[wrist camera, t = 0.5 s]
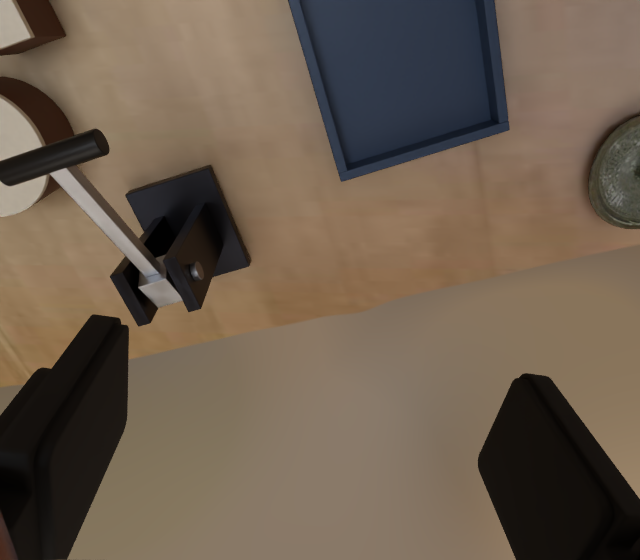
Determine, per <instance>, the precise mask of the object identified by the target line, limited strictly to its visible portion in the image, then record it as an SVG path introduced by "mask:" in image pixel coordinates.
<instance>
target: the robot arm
mask: <svg viewBox="0 0 640 560" xmlns="http://www.w3.org/2000/svg"><path fill="white" fill-rule="evenodd" d="M128 345H129V328H128V326H127V325H121V321H120V319H119V318H116V317H109V316H101V315H92V316H91V317H90V318H89V319H88V320H87V322H86V323H85V325H84V326H83V327H82V329H81V330H80V331H79V333H78V334H77V335H76V337H75V338H74V339H73V341H72V342H71V343H70V345H69V346H68V347H67V349H66V350H65V351H64V353H63V354H62V355H61V357H60V358H59V359H58V361H57V362H56V363H55V365H54V366H53V367H52V369H49V368H40V369H38V370H37V371H36V372H35V373H34V374H33V375H32V376H31V377H30V379H29V380H28V381H27V382H26V384H25V385H24V386H23V388H22V389H21V390H20V391H19V393H18V394H17V395H16V396H15V398H14V399H13V400H12V402H11V403H10V404H9V406H8V407H7V408H6V409H5V410H4V412H3V413H2V414H1V415H0V560H67V558H68V556H69V553H70V551H71V549H72V547H73V544H74V542H75V540H76V538H77V535H78V533H79V531H80V529H81V526H82V524H83V522H84V519H85V517H86V515H87V513H88V511H89V508H90V506H91V504H92V502H93V499H94V497H95V494H96V493H97V490H98V488H99V486H100V484H101V481H102V479H103V477H104V474H105V472H106V470H107V468H108V465H109V463H110V461H111V459H112V457H113V454H114V452H115V450H116V447H117V445H118V443H119V441H120V439H121V436H122V434H123V432H124V429H125V425H126V421H127V400H128V399H127V398H128ZM478 468H479V472H480V474H481V476H482V479H483V481H484V484H485V486H486V489H487V491H488V493H489V496H490V498H491V501H492V503H493V505H494V508H495V510H496V512H497V515H498V517H499V520H500V522H501V525H502V527H503V529H504V532H505V534H506V536H507V539H508V541H509V544H510V546H511V549H512V551H513V553H514V556H515V558H516V560H640V499H639V498H638V496H637V495H636V494H635V492H634V491H633V490H632V488H631V487H630V485H629V484H628V483H627V481H626V480H625V479H624V477H623V476H622V475H621V473H620V472H619V470H618V469H617V468H616V466H615V465H614V464H613V462H612V461H611V460H610V458H609V457H608V456H607V454H606V453H605V451H604V450H603V449H602V448H601V446H600V445H599V443H598V442H597V441H596V439H595V438H594V437H593V435H592V434H591V433H590V431H589V430H588V429H587V427H586V426H585V424H584V423H583V422H582V420H581V419H580V418H579V416H578V415H577V414H576V413H575V411H574V410H573V408H572V407H571V406H570V405H569V403H568V402H567V400H566V399H565V397H564V396H563V395H562V393H561V392H560V391H559V389H558V388H557V387H556V385H555V384H554V383H553V381H552V380H551V379H550V378H549V377H547V376H542V375H535V374H527V373H526V374H522V375H521V376H520V377H519V378H516V379H515V380H514V381H513V382H512V384H511V386H510V388H509V391H508V393H507V395H506V397H505V399H504V401H503V404H502V406H501V408H500V410H499V412H498V415H497V417H496V419H495V421H494V424H493V426H492V428H491V430H490V432H489V434H488V437H487V439H486V441H485V443H484V445H483V448H482V450H481V452H480V454H479V457H478Z"/></svg>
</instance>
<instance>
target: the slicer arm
mask: <svg viewBox="0 0 640 560" xmlns="http://www.w3.org/2000/svg"><path fill="white" fill-rule="evenodd" d="M108 153H109V145H108V142H107V140H106V138H105V136H104V135H103V133H102V132H101V131H100V130H98V129H92V130H89V131H87V132H84V133H81V134H78V135H75V136H72V137H69V138H66V139H63V140H60V141H57V142H54V143H51V144H48V145H45V146H42V147H39V148H36V149H33V150H31V151H28V152H25V153H22V154H19V155H16V156H13V157H10V158H7V159H4V160H1V161H0V181H1V182H2V183H3V184H4V185H6V186H14V185H17V184H20V183H23V182H26V181H29V180H33V179H36V178H39V177H42V176H45V175H48V174H50V175H51V176H52V177H53V178H54V179H55V180H56V182H57V183H58V184H59V185H60V186H61V187H62V188H63V189H64V190H65V191H66V192H67V193H68V194H69V196H70V197H71V198H72V199H73V200H74V201H75V202H76V203H77V204H78V205H79V206H80V207H81V208H82V209H83V211H84V212H85V213H86V214H87V215H88V216H89V217H90V218H91V219H92V220H93V221H94V222H95V223H96V225H97V226H98V227H99V228H100V229H101V230H102V231H103V232H104V233H105V234H106V235H107V236H108V237H109V238H110V240H111V241H112V242H113V243H114V244H115V245H116V246H117V247H118V248H119V249H120V250H121V251H122V252H123V254H124V255H125V256H126V257H127V258H128V259H129V260H130V261H131V262H132V263H133V264H134V265H135V266H136V268H137V269H138V270H139V271H140V273H139V283H138V288H139V289H140V290H141V291H142V292H143V293H144V294H145V295H146V296H147V297H148V298H149V299H150V300H151V301H152V302H153V303H154V304H155V305H156V306H157V307H158V308H159V307H163V306H166V305H169V304H173V303H176V302H180V301H183V300H182V298H181V296H180V294H179V292H178V290H177V288H176V286H175V284H174V282H173V280H172V279H171V277H170V275H169V273H168V271H167V269H166V267H165V265H164V263H163V259H164V257H165V256H166V255H163V256H160V257H157V258H155V257H154V256H153V255H152V254H151V252H150V251H149V250H148V249H147V248H146V247H145V245H144V244H143V243H142V242H141V241H140V240H139V238H138V237H137V236H136V235H135V234H134V233H133V231H132V230H131V229H130V228H129V227H128V226H127V224H126V223H125V222H124V221H123V220H122V219H121V217H120V216H119V215H118V214H117V213H116V212H115V210H114V209H113V208H112V207H111V206H110V205H109V203H108V202H107V201H106V200H105V199H104V198H103V196H102V195H101V194H100V193H99V192H98V191H97V189H96V188H95V187H94V186H93V185H92V184H91V182H90V181H89V180H88V179H87V178H86V177H85V175H84V174H83V173H82V172H81V171H80V170H79V168H78V167H77V166H76V165H78V164H81V163H84V162H87V161H90V160H93V159H96V158H99V157H102V156H105V155H107V154H108Z"/></svg>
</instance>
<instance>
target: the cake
mask: <svg viewBox="0 0 640 560" xmlns="http://www.w3.org/2000/svg"><path fill="white" fill-rule="evenodd" d="M72 136H74V134H73V131H72V128H71V126H70V124H69V122H68V120H67V118H66V117H65V115H64V114H63V112H62V111H61V110H60V108H59V107H58V106H57V105H56V104H55V103H54V102H53V101H52V100H51V99H50V98H49V97H48V96H47V95H46V94H44V93H43V92H41V91H40V90H39V89H37V88H35V87H33V86H32V85H30V84H28V83H25V82H23V81H20V80H17V79H13V78H7V77H0V161H1V160H4V159H7V158H10V157H13V156H16V155H19V154H22V153H25V152H28V151H31V150H33V149H36V148H39V147H42V146H45V145H48V144H51V143H54V142H57V141H60V140H63V139H66V138H69V137H72ZM60 187H61V186H60V185H59V184H58V183H57V182H56V180H55V179H54V178H53V177H52V176H51V175H50V174H48V175H45V176H42V177H39V178H36V179H33V180H29V181H26V182H23V183H20V184H17V185H14V186H6V185H4V184H3V183H2V182H1V181H0V217H3V216H10V215H14V214H17V213H20V212H22V211H24V210H26V209H28V208H29V207H31V206H32V205H34V204H35V203H37V202H38V201H40V200H41V199H43V198H44V197H46V196H47V195H49V194H50V193H52V192H54V191H55V190H57V189H58V188H60Z"/></svg>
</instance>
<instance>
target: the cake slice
mask: <svg viewBox="0 0 640 560" xmlns="http://www.w3.org/2000/svg"><path fill="white" fill-rule="evenodd" d="M65 36H66V35H65V33H64V31H63V28H62V26H61V24H60V22H59V20H58V18H57V16H56V14H55V12H54V10H53V8H52V6H51V4H50V2H49V0H0V55H11V54H18V53H21V52H24V51H27V50H29V49H32V48H35V47H38V46H40V45H43V44H46V43H49V42H51V41H54V40H57V39H60V38H62V37H65Z"/></svg>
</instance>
